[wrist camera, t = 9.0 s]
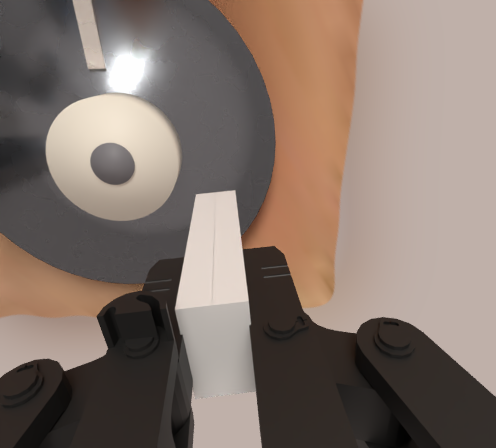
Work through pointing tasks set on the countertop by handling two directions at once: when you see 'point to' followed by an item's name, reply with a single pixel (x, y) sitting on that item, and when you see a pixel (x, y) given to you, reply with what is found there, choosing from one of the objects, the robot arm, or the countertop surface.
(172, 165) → the cream donut
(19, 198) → the turntable
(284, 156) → the countertop surface
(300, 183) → the countertop surface
